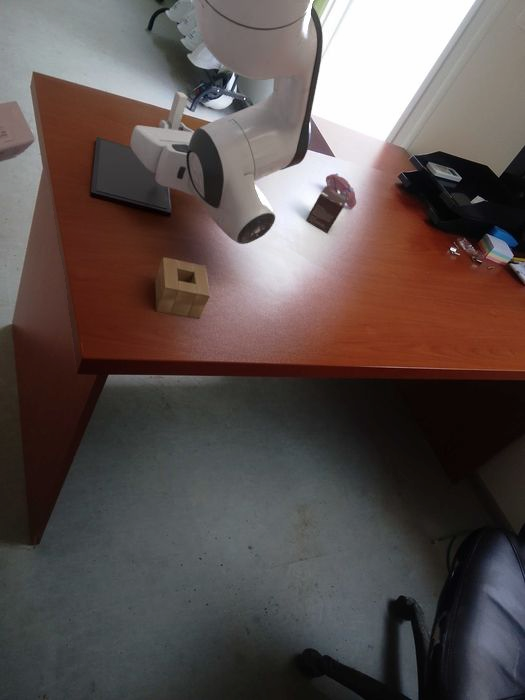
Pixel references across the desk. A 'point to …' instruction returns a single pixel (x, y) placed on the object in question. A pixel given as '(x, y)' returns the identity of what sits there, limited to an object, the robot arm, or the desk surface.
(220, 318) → the desk surface
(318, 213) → the box
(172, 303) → the pen stand
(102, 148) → the plate
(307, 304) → the desk surface
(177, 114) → the white square bar
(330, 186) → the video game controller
